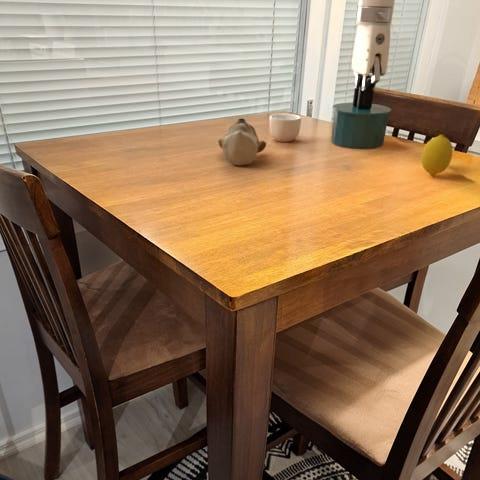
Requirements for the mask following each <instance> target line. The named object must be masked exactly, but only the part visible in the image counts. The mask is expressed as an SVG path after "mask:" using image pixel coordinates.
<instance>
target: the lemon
mask: <svg viewBox="0 0 480 480" xmlns="http://www.w3.org/2000/svg"><path fill="white" fill-rule="evenodd" d="M452 144H453V143H452V142H451V141H450V139H448V138H447V137H446V136H444V134H439V135H438V136H435V137H433V138H431V139H430V140H428V141H427V142H426V144H425V145H424V148H423V151H422V153H421V165H422V168H423V169H424V170H425V171H426V172H427V173H429V175H430V176H431V177H435V176H436V175H438V174H441V173H442V172H444V171H445V170H447V168H448V167H449V166H450V164H451V162H452V158H453V145H452Z"/></svg>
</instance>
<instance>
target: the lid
mask: <svg viewBox="0 0 480 480" xmlns="http://www.w3.org/2000/svg"><path fill="white" fill-rule="evenodd" d="M360 90H362V86H361V87H359V93H358V101H359V94H360ZM358 101H357V107H354V106H353V102H342V103H335V104H334V105H333V106H332V111H333V112H334V111H336V112H339V113H344V114H350V115H360V116H379V115H386V114H388V115H389V114H391V112H392V108H390V107H388V106H387V105H382V104H377V103H376V104H375V103H372V107H371V109H358Z"/></svg>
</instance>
